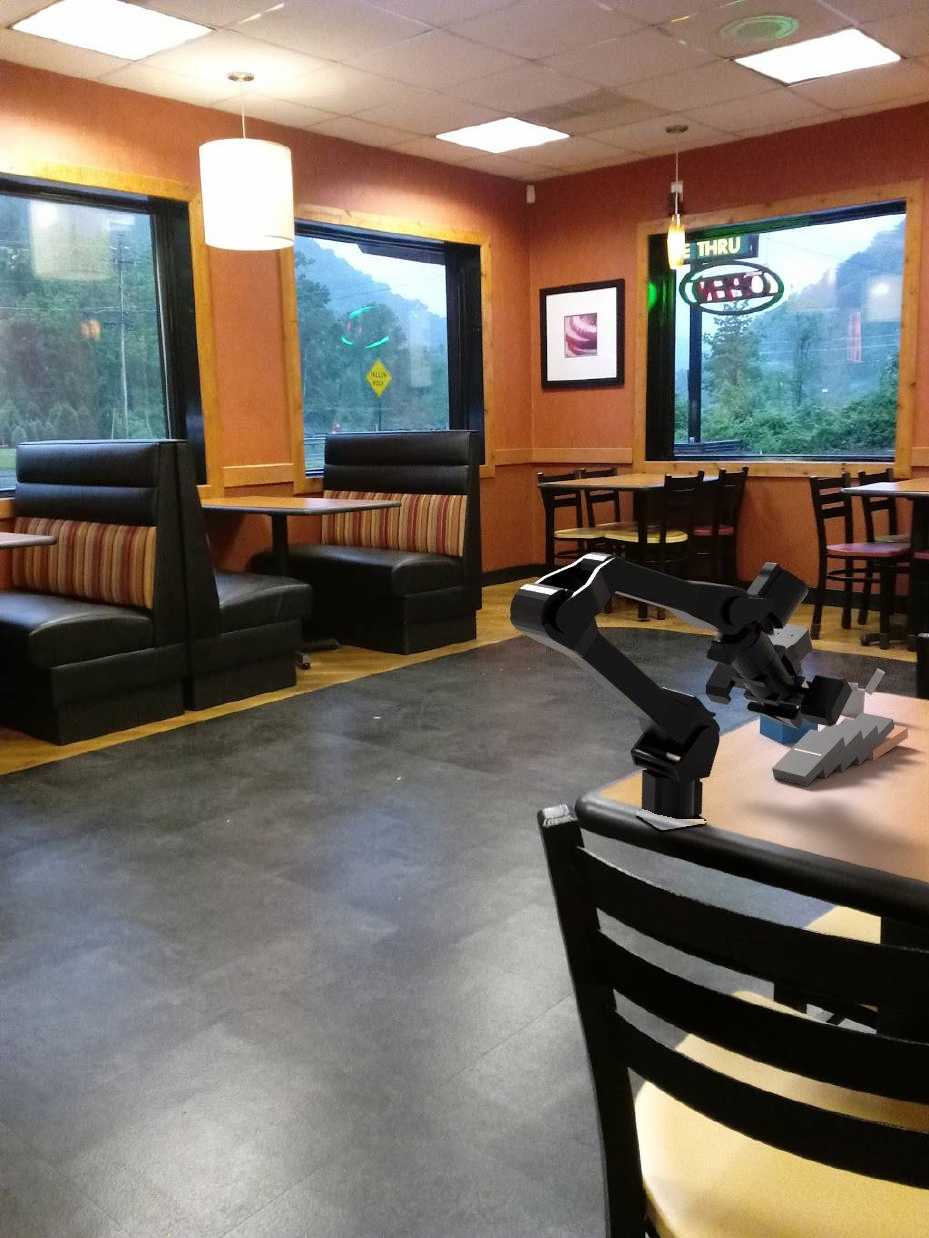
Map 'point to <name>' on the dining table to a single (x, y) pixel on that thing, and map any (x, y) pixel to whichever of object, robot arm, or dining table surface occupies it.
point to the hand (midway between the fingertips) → (798, 725)
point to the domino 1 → (808, 757)
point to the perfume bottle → (785, 728)
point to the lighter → (861, 695)
